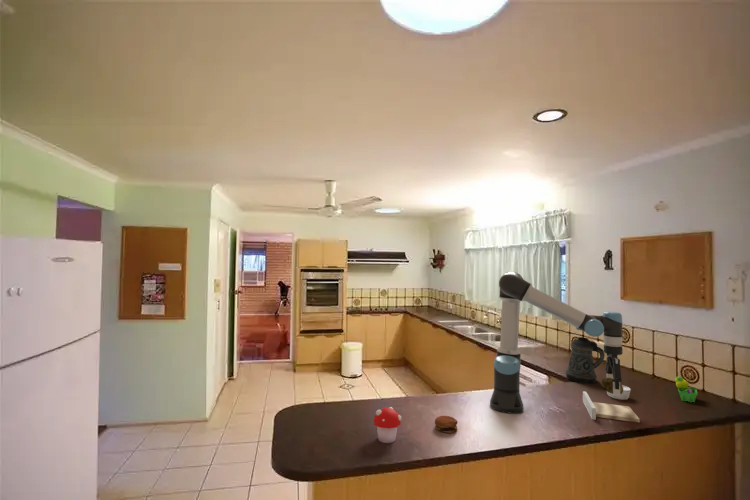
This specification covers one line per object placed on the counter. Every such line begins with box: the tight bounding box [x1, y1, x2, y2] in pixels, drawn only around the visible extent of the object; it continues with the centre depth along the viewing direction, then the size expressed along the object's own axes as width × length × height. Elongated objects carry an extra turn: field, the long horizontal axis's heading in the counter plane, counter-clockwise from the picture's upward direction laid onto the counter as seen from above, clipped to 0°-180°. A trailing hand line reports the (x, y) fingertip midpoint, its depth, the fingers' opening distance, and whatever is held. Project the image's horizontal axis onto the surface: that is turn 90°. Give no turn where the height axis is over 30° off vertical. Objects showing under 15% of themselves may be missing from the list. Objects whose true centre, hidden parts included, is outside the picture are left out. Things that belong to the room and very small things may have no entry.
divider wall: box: [582, 391, 597, 421], centre depth 183 cm, size 2×24×5 cm, turn 160°
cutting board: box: [592, 401, 641, 423], centre depth 179 cm, size 17×16×2 cm
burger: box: [434, 415, 459, 434], centre depth 159 cm, size 10×9×5 cm
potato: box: [600, 376, 623, 394], centre depth 180 cm, size 8×13×8 cm, turn 105°
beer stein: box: [565, 336, 605, 384], centre depth 232 cm, size 16×19×25 cm
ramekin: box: [606, 384, 632, 401], centre depth 202 cm, size 11×11×5 cm
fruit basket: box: [674, 376, 698, 403], centre depth 200 cm, size 11×9×11 cm
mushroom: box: [373, 406, 402, 444], centre depth 149 cm, size 11×11×12 cm
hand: (613, 391), depth 180 cm, fingers closed on potato, 12 cm apart
